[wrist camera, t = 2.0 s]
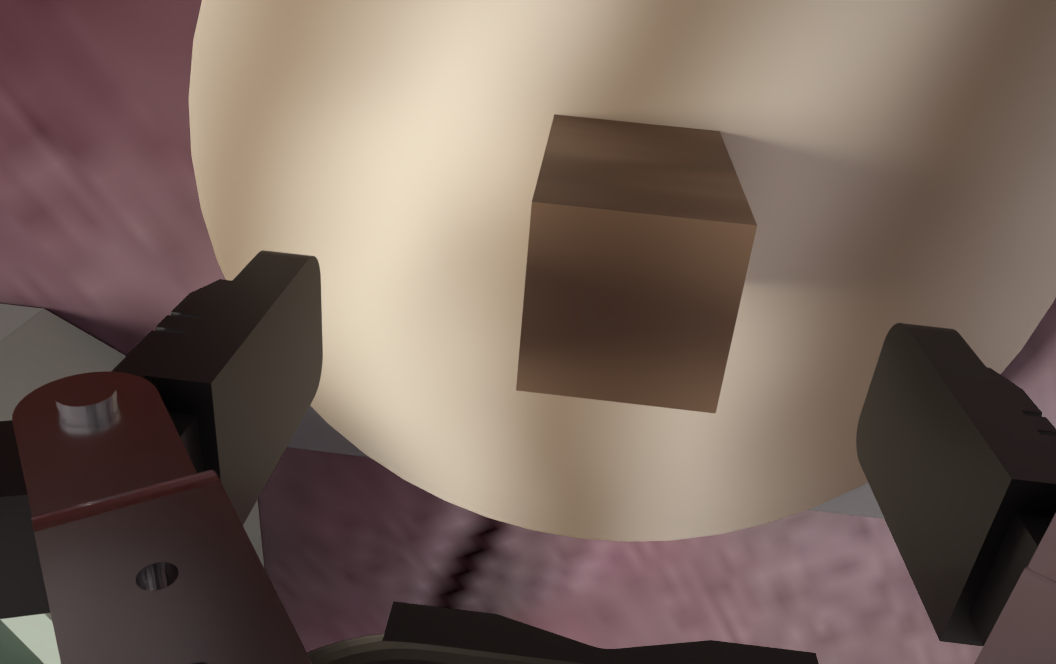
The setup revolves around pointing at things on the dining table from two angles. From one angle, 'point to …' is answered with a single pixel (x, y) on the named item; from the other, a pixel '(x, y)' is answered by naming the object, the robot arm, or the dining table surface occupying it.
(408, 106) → the lid
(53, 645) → the bowl
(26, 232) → the dining table surface
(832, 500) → the mat
